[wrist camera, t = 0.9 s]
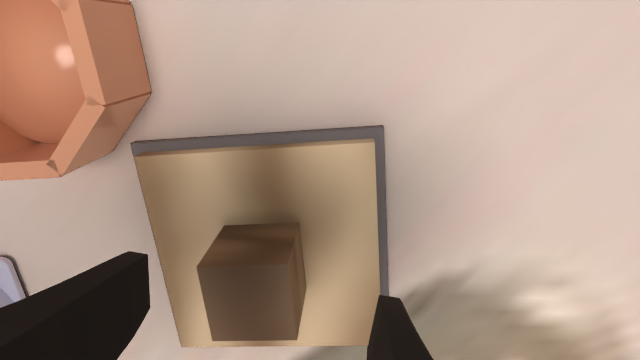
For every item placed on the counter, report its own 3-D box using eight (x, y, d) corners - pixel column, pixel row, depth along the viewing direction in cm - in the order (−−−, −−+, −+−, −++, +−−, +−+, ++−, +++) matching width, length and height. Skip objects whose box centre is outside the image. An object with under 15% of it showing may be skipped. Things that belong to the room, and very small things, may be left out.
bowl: (-8, 159, 22) (-81, 184, 18) (-85, -44, 19) (-194, -63, 15) (164, 148, 21) (123, 173, 17) (115, -68, 18) (52, -95, 14)
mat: (183, 338, 26) (180, 344, 25) (135, 141, 21) (130, 143, 21) (389, 336, 24) (390, 341, 24) (382, 125, 20) (383, 127, 19)
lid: (186, 337, 25) (150, 404, 20) (141, 152, 21) (83, 185, 16) (381, 335, 24) (387, 406, 19) (374, 138, 20) (380, 169, 15)
